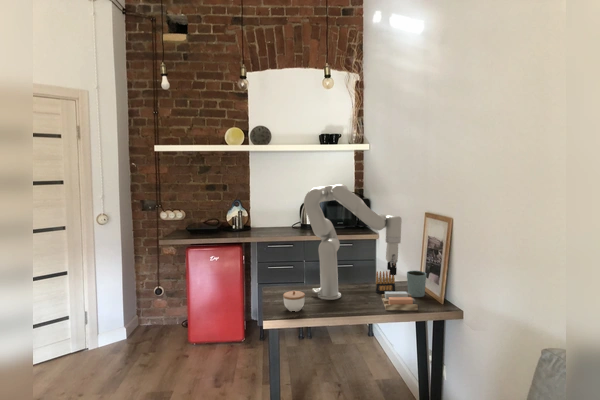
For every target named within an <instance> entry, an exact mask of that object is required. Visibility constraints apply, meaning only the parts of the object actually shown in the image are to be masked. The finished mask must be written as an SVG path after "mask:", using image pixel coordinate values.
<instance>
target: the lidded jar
mask: <svg viewBox="0 0 600 400" xmlns="http://www.w3.org/2000/svg"><path fill="white" fill-rule="evenodd" d="M305 296H306V294H305V292H303V291H300V290H290V291H286V292H284V293H283V295H282V297H283V304H284V307H285V308H286V309H287V310H288V311H289V312H292V311H295V312H300V311H301V309H302V308H303V307H304V305H305V300H306V299H305Z"/></svg>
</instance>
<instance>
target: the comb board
mask: <svg viewBox="0 0 600 400" xmlns="http://www.w3.org/2000/svg"><path fill="white" fill-rule="evenodd" d="M410 297H411V298H412V299H414V297H412V296H411V294H410ZM381 301H382V304H383V306H384V308H385V311H419V309H418V307H419V305H418V303H417V304H416V303H415V304H389V298H385V293H384V294H381Z"/></svg>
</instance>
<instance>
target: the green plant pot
mask: <svg viewBox="0 0 600 400" xmlns="http://www.w3.org/2000/svg"><path fill="white" fill-rule="evenodd" d="M426 282H427V273H426V272H425V271H422V270H409V271H406V285H407V293H409V294H411V298H422V297H425V293H426V284H427V283H426Z"/></svg>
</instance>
